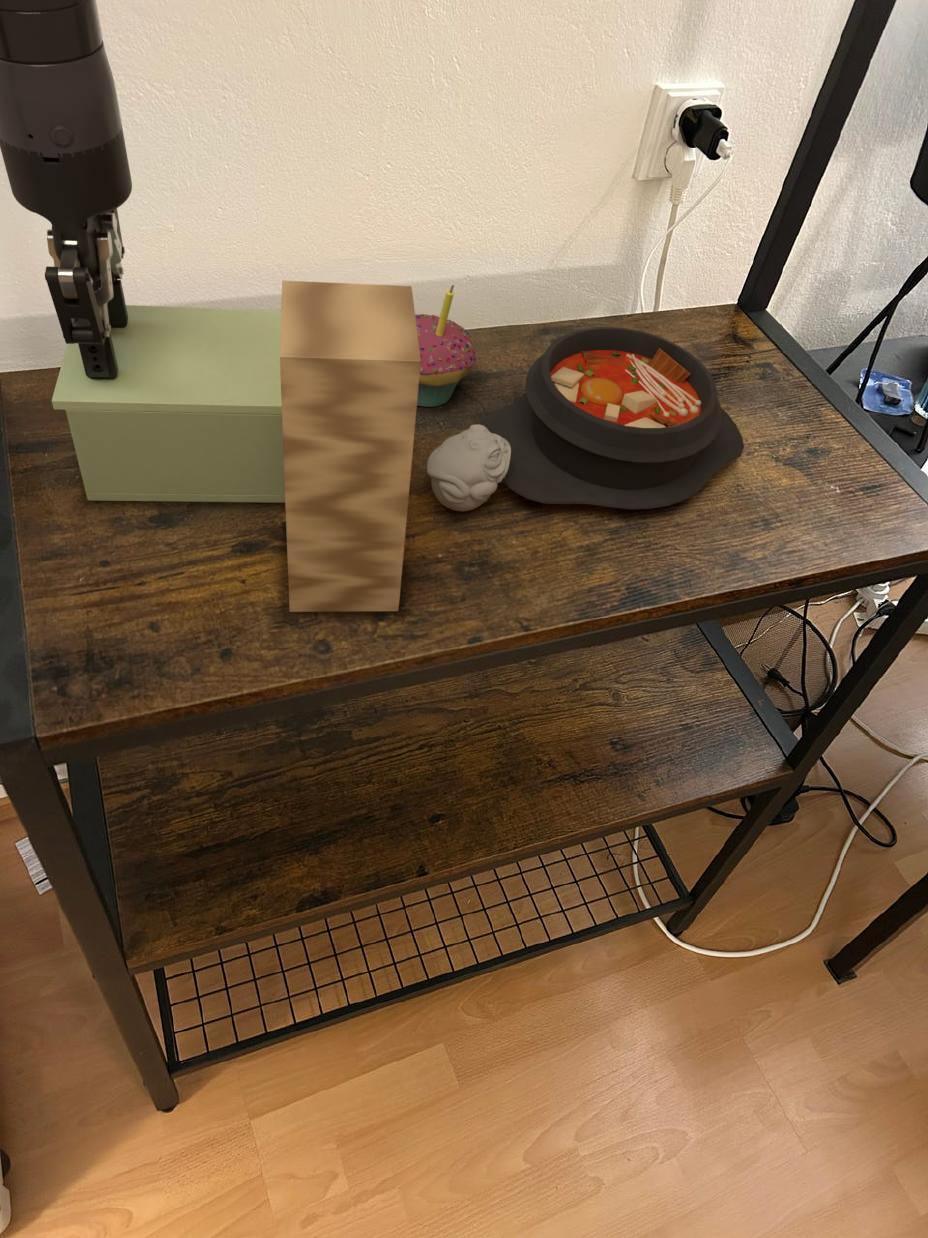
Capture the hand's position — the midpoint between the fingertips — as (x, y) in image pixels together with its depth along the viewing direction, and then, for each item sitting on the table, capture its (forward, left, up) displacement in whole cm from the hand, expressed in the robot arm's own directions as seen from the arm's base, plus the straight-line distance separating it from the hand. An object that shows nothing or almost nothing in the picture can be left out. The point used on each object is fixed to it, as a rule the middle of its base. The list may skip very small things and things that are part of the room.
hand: (108, 349), depth 73 cm
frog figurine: (+27, -6, -10) cm, 30 cm away
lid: (+5, 0, -1) cm, 5 cm away
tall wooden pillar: (+17, -14, -10) cm, 24 cm away
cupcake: (+25, +9, -10) cm, 29 cm away
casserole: (+41, +1, -10) cm, 43 cm away
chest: (+5, 0, -10) cm, 11 cm away
